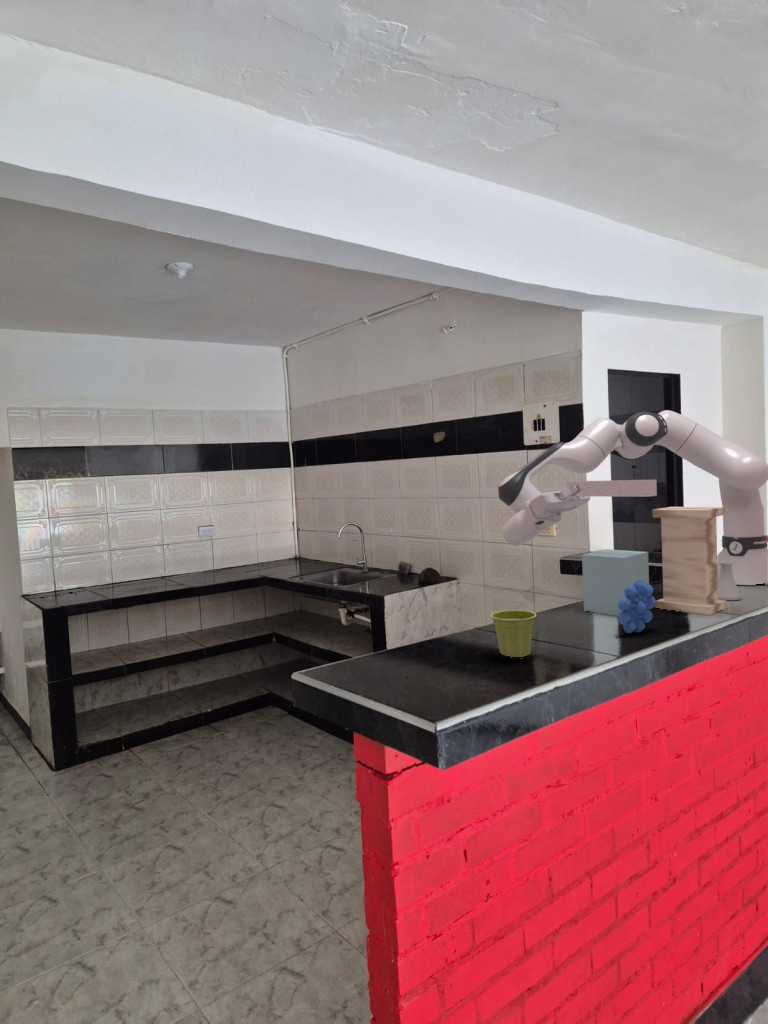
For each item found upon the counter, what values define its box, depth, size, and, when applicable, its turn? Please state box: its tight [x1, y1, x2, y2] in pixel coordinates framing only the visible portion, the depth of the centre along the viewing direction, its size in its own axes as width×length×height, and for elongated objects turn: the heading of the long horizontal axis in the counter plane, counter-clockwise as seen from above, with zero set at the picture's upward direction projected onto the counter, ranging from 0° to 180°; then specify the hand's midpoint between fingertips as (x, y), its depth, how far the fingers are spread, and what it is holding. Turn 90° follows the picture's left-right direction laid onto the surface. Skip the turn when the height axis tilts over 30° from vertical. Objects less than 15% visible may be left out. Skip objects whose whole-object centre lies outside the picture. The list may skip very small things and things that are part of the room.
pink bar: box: [565, 479, 658, 498], centre depth 179 cm, size 4×24×4 cm, turn 41°
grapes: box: [617, 580, 657, 634], centre depth 156 cm, size 12×7×12 cm, turn 120°
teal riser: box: [581, 549, 650, 617], centre depth 179 cm, size 12×12×15 cm
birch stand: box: [652, 506, 728, 616], centre depth 176 cm, size 10×14×26 cm
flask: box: [718, 562, 743, 601], centre depth 186 cm, size 7×7×10 cm
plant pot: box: [490, 609, 537, 658], centre depth 143 cm, size 9×9×9 cm
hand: (581, 486), depth 185 cm, fingers closed on pink bar, 3 cm apart
